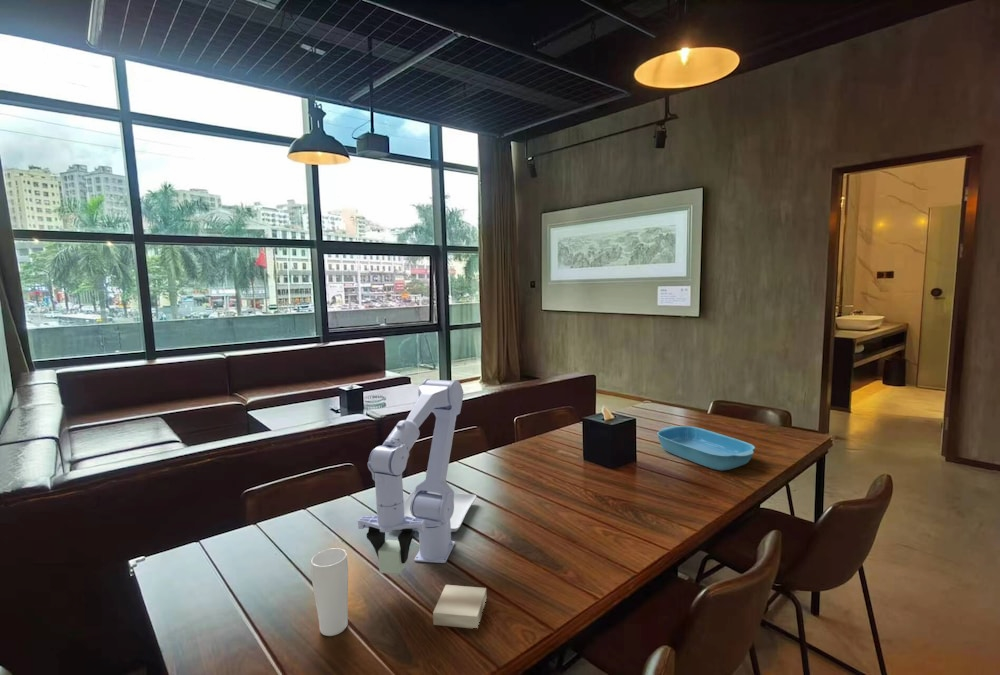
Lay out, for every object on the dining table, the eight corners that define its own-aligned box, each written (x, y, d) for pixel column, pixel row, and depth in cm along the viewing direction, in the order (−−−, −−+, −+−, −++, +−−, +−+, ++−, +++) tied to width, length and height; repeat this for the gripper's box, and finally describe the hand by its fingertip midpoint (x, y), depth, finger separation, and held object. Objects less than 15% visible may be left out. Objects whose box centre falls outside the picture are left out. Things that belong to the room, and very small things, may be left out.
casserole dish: (768, 465, 172) (768, 446, 171) (728, 479, 161) (728, 459, 160) (683, 438, 204) (684, 422, 203) (645, 448, 193) (645, 431, 192)
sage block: (387, 560, 107) (386, 539, 107) (407, 562, 107) (406, 540, 106) (379, 572, 103) (378, 550, 102) (399, 574, 102) (398, 552, 102)
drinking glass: (355, 615, 99) (351, 546, 97) (346, 639, 92) (341, 566, 90) (322, 617, 98) (317, 548, 97) (310, 641, 92) (305, 567, 90)
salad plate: (458, 539, 128) (458, 527, 127) (384, 533, 132) (384, 521, 132) (478, 504, 148) (477, 493, 148) (413, 499, 153) (413, 489, 152)
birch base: (446, 597, 104) (445, 584, 104) (486, 600, 103) (486, 587, 102) (433, 626, 95) (432, 612, 95) (477, 630, 94) (477, 616, 93)
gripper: (349, 507, 101) (354, 568, 102) (415, 511, 98) (419, 573, 100) (364, 493, 108) (368, 550, 109) (426, 496, 105) (429, 554, 107)
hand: (393, 560), depth 105 cm, fingers closed on sage block, 5 cm apart
